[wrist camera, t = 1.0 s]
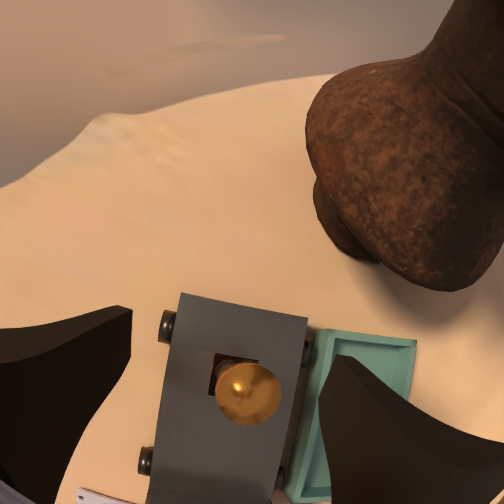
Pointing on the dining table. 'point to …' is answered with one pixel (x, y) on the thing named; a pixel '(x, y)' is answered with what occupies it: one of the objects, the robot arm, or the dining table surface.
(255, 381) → the pin
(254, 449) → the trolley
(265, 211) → the dining table surface
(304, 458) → the tray
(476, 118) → the jug
